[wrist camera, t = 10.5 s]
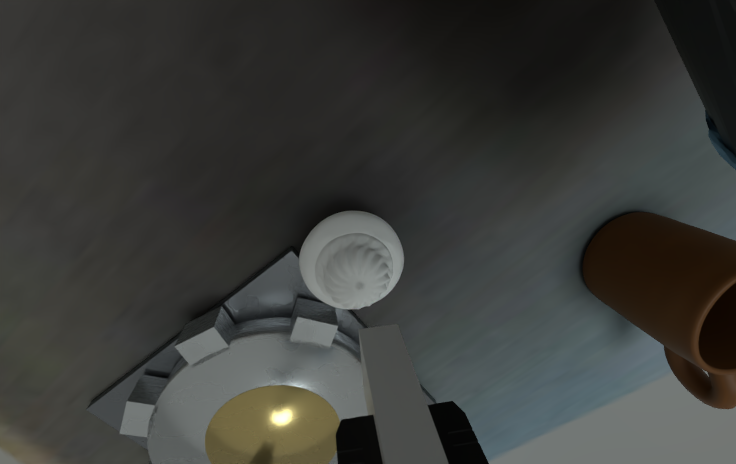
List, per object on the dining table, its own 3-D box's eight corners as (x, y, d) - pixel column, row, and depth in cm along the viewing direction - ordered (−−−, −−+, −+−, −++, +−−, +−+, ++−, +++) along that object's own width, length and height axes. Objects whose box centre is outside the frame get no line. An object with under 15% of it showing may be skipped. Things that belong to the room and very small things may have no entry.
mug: (666, 323, 33) (795, 405, 25) (585, 352, 33) (687, 447, 24) (667, 195, 29) (824, 240, 20) (573, 227, 29) (692, 287, 20)
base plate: (91, 400, 27) (83, 413, 26) (291, 246, 26) (291, 252, 25) (267, 518, 34) (266, 531, 33) (435, 400, 32) (439, 410, 31)
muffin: (294, 277, 26) (292, 337, 20) (305, 189, 25) (306, 225, 18) (382, 284, 28) (406, 344, 21) (399, 202, 26) (431, 239, 19)
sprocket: (114, 491, 29) (66, 595, 23) (166, 266, 24) (121, 325, 18) (355, 513, 34) (366, 604, 28) (441, 331, 29) (477, 394, 23)
